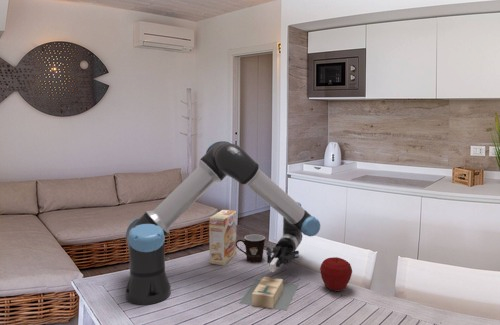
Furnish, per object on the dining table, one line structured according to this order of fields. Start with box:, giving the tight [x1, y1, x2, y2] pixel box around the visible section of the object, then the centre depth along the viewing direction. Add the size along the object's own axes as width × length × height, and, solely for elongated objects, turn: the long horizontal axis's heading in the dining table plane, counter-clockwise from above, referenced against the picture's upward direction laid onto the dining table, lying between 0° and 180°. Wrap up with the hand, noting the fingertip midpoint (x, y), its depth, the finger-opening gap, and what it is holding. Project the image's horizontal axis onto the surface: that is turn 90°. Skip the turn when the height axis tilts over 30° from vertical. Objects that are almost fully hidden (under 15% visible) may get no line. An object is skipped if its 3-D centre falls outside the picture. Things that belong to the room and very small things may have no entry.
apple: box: [319, 256, 353, 292], centre depth 145 cm, size 11×11×12 cm
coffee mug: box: [236, 234, 266, 264], centre depth 173 cm, size 12×9×10 cm
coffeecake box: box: [208, 209, 238, 266], centre depth 174 cm, size 15×7×20 cm, turn 162°
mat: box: [238, 278, 300, 311], centre depth 141 cm, size 16×20×1 cm
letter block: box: [251, 276, 284, 310], centre depth 138 cm, size 7×4×14 cm
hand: (271, 268), depth 141 cm, fingers closed
